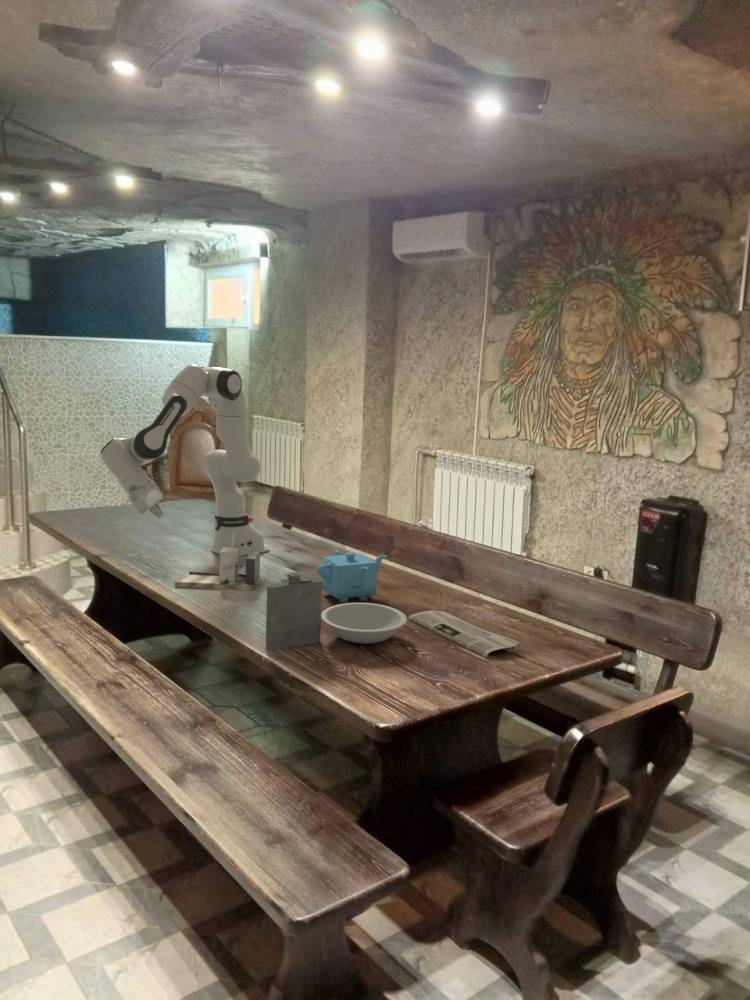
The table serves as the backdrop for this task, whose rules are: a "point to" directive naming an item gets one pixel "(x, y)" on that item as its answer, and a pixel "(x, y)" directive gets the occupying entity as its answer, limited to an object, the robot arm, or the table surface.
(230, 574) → the block
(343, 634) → the soup bowl
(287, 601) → the hip flask
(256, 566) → the dark grey slab
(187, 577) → the board
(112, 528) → the table surface
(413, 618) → the newspaper
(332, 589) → the teakettle
